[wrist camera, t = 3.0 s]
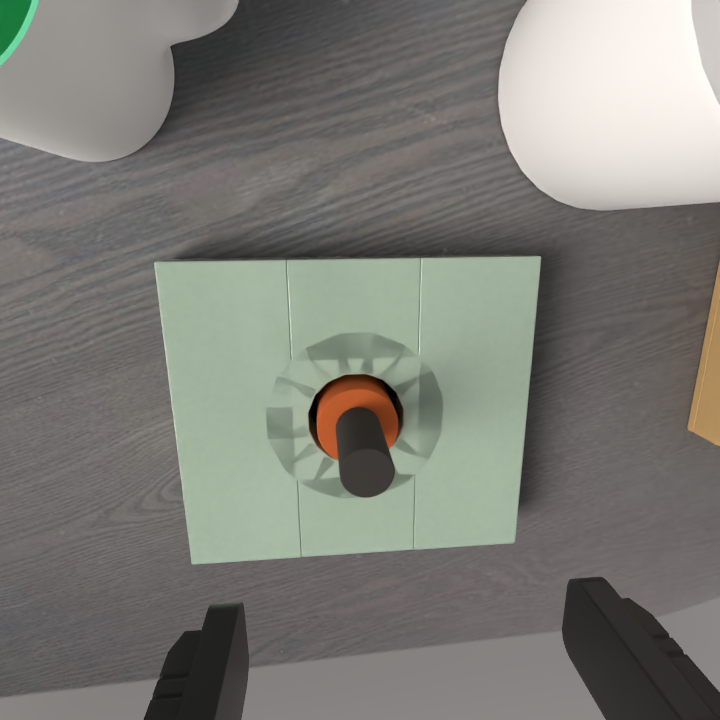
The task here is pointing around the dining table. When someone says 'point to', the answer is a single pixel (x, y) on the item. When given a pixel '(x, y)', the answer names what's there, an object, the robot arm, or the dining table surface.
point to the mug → (94, 70)
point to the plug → (358, 432)
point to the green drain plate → (330, 361)
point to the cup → (615, 101)
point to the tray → (708, 377)
